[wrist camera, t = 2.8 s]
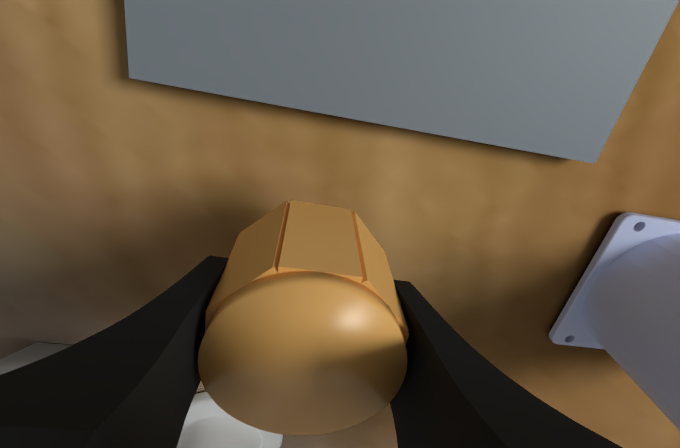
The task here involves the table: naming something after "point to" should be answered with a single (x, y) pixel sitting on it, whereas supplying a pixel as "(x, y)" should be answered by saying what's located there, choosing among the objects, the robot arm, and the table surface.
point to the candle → (220, 429)
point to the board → (414, 61)
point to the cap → (304, 324)
